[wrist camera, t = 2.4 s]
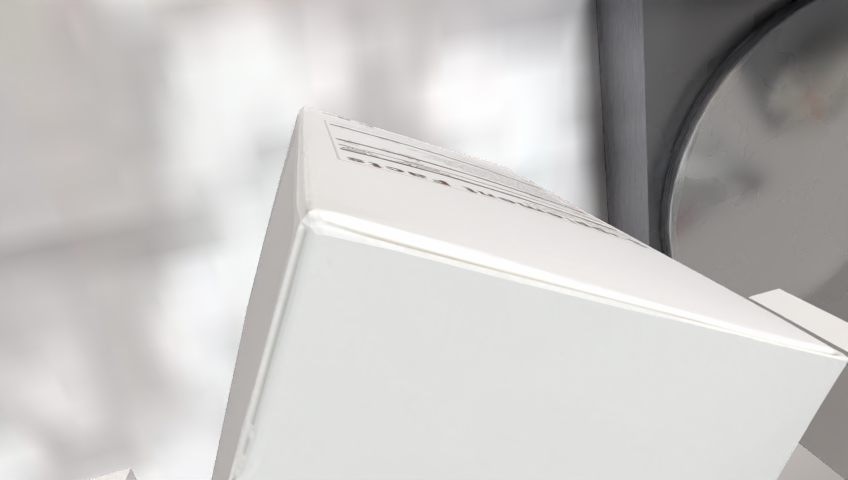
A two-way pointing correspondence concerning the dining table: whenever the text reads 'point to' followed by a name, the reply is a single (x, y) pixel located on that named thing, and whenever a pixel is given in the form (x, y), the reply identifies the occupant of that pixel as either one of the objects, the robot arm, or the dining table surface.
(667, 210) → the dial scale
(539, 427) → the supplement box
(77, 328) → the dining table surface
